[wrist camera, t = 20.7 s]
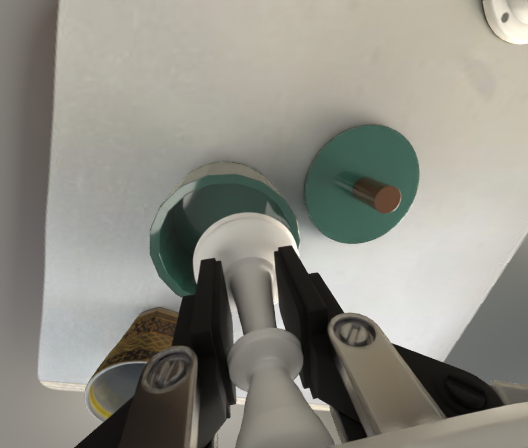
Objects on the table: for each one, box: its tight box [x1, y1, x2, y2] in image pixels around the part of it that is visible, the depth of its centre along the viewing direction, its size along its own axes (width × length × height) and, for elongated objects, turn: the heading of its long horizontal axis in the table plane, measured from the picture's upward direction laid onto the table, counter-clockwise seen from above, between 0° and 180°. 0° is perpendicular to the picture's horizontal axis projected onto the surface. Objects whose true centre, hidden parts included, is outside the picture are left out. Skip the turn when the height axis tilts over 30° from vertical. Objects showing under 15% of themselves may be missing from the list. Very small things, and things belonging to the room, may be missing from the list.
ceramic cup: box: [84, 307, 179, 423], centre depth 31 cm, size 13×10×10 cm
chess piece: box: [193, 212, 335, 448], centre depth 8 cm, size 5×5×10 cm
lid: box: [304, 125, 420, 244], centre depth 30 cm, size 15×15×6 cm
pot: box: [150, 162, 300, 298], centre depth 28 cm, size 14×14×8 cm
